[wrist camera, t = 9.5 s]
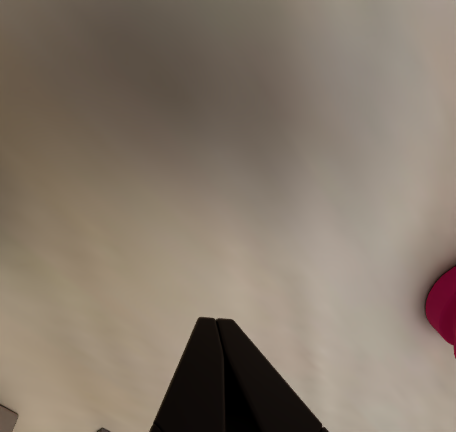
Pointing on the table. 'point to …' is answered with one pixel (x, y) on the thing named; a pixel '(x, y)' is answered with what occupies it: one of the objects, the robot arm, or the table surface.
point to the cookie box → (7, 420)
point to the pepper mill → (443, 307)
